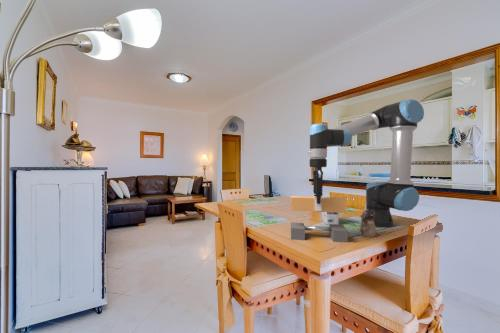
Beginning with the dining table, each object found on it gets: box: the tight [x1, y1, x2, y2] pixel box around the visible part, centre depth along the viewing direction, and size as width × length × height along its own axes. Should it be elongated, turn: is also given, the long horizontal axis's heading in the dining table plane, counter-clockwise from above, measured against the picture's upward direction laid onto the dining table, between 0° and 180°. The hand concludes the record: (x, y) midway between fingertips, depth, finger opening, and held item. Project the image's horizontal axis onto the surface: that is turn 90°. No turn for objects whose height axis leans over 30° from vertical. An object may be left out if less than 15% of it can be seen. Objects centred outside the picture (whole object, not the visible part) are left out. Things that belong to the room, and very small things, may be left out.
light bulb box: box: [321, 212, 340, 226], centre depth 136 cm, size 11×7×11 cm, turn 179°
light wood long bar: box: [290, 195, 347, 214], centre depth 109 cm, size 24×5×6 cm, turn 81°
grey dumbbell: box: [290, 222, 349, 243], centre depth 110 cm, size 24×10×5 cm, turn 81°
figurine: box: [358, 208, 377, 238], centre depth 114 cm, size 7×7×12 cm
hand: (317, 209), depth 109 cm, fingers closed on light wood long bar, 5 cm apart
